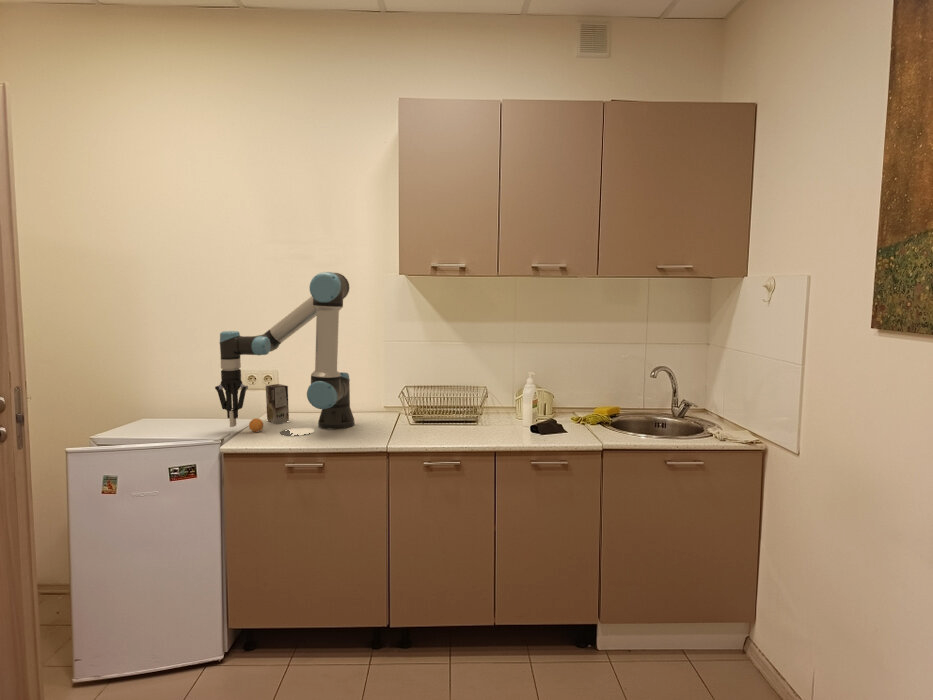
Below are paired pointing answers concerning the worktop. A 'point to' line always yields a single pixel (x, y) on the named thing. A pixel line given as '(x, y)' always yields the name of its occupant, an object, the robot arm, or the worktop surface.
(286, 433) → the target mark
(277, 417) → the coffee box
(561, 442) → the worktop surface
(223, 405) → the robot arm
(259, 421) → the ball
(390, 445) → the worktop surface
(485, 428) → the worktop surface
